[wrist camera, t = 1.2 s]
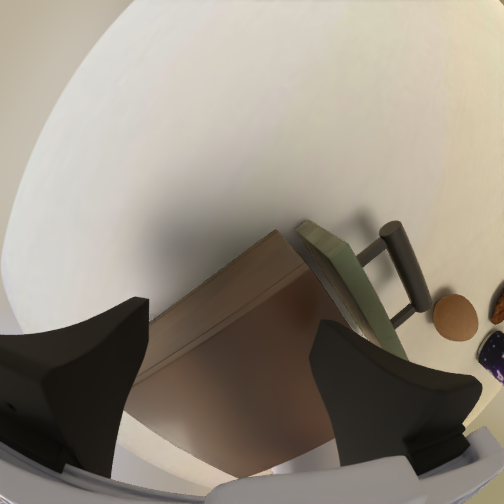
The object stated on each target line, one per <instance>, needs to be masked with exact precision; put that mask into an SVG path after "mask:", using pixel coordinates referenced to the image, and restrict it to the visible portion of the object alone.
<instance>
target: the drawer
mask: <svg viewBox="0 0 504 504" xmlns="http://www.w3.org/2000/svg"><path fill="white" fill-rule="evenodd" d="M295 231H296V232H297V234H298V235H299V237H300V238H301V239H302V241H303V242H304V244H305V245H306V247H307V248H308V250H309V251H310V252H311V254H312V255H313V257H314V258H315V260H316V261H317V263H318V264H319V266H320V267H321V269H322V270H323V272H324V273H325V275H326V276H327V278H328V279H329V281H330V282H331V284H332V285H333V287H334V288H335V290H336V292H337V293H338V295H339V296H340V298H341V299H342V301H343V302H344V304H345V306H346V307H347V309H348V310H349V312H350V313H351V315H352V317H353V318H354V320H355V321H356V323H357V325H358V326H359V328H360V329H361V331H362V333H363V334H364V335H365V336H366V338H367V339H368V340H369V341H370V342H371V343H373V344H375V345H376V346H378V347H380V348H382V349H384V350H385V351H387V352H389V353H391V354H393V355H395V356H398V357H400V358H402V359H404V360H407V361H409V360H408V358H407V355H406V353H405V351H404V349H403V347H402V344H401V342H400V340H399V338H398V336H397V334H396V332H395V329H396V328H397V327H399V326H400V325H401V324H402V323H403V322H405V321H406V320H407V319H408V318H409V317H410V316H412V315H413V314H414V313H415V312H418V313H421V312H425V311H426V310H428V309H429V308H430V306H431V304H432V299H431V296H430V293H429V290H428V288H427V285H426V282H425V279H424V276H423V274H422V271H421V268H420V266H419V263H418V261H417V258H416V256H415V253H414V251H413V249H412V246H411V244H410V241H409V239H408V237H407V235H406V232H405V230H404V228H403V226H402V224H401V222H400V221H391V222H389V223H387V224H385V225H384V226H383V227H382V228H381V229H380V231H379V235H380V237H381V238H378V239H377V240H376V241H375V242H373V243H372V244H371V245H370V246H368V247H367V248H366V249H365V250H363V251H362V252H361V253H360V254H358V255H357V256H355V254H354V252H353V251H352V249H351V247H350V246H349V244H348V243H346V242H345V241H343V240H342V239H340V238H338V237H337V236H335V235H333V234H332V233H330V232H328V231H327V230H325V229H323V228H322V227H320V226H318V225H316V224H315V223H313V222H311V221H310V220H307V221H305V222H304V223H303V224H301V225H300V226H299V227H297V228H296V229H295ZM385 249H387V251H388V253H389V255H390V257H391V259H392V262H393V264H394V266H395V268H396V270H397V272H398V275H399V277H400V279H401V281H402V284H403V286H404V288H405V290H406V293H407V295H408V298H409V300H410V302H411V304H410V303H409V304H408V305H407V306H406V307H405V308H404V309H402V310H401V311H400V312H399V313H398V314H397V315H395V316H394V317H393V318H392V319H391V320H390V319H389V317H388V315H387V313H386V311H385V309H384V307H383V305H382V304H381V302H380V300H379V298H378V296H377V294H376V292H375V290H374V288H373V286H372V285H371V283H370V281H369V279H368V277H367V275H366V274H365V272H364V270H363V267H364V266H365V265H366V264H368V263H369V262H370V261H371V260H372V259H374V258H375V257H376V256H377V255H379V254H380V253H381V252H382V251H383V250H385Z"/></svg>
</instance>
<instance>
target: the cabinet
mask: <svg viewBox="0 0 504 504" xmlns="http://www.w3.org/2000/svg"><path fill="white" fill-rule="evenodd" d="M321 319H323V320H334V321H337V322H339V323H340V324H342V325H344V326H346V327H347V328H349V329H350V330H352V329H351V328H350V326H349V325H348V323H347V322H346V320H345V319H344V317H343V316H342V314H341V313H340V311H339V310H338V308H337V307H336V305H335V304H334V302H333V301H332V299H331V298H330V296H329V295H328V293H327V292H326V290H325V289H324V287H323V286H322V284H321V283H320V281H319V280H318V279H317V277H316V276H315V274H314V273H313V271H312V270H311V268H310V267H309V266H308V265H307V264H306V263H305V262H304V260H303V259H302V258H301V257H300V256H299V255H298V253H297V252H296V251H295V250H294V249H293V248H292V247H291V245H290V244H289V243H288V242H287V241H286V240H285V239H284V238H283V236H282V235H281V234H280V233H279V232H278V231H277V230H274V231H272V232H271V233H270V234H268V235H267V236H266V237H264V238H263V239H262V240H260V241H259V242H258V243H256V244H255V245H254V246H252V247H251V248H250V249H248V250H247V251H245V252H244V253H243V254H241V255H240V256H239V257H237V258H236V259H235V260H233V261H232V262H231V263H229V264H228V265H227V266H225V267H224V268H223V269H221V270H220V271H219V272H217V273H216V274H215V275H213V276H212V277H210V278H209V279H208V280H206V281H205V282H204V283H202V284H201V285H200V286H198V287H197V288H196V289H194V290H193V291H192V292H190V293H189V294H188V295H186V296H185V297H184V298H182V299H181V300H180V301H178V302H177V303H176V304H174V305H173V306H172V307H170V308H169V309H168V310H166V311H165V312H164V313H162V314H161V315H160V316H158V317H157V318H156V319H154V320H153V321H152V322H150V323H149V342H148V346H147V350H146V353H145V357H144V360H143V362H142V365H141V367H140V369H139V372H138V374H137V376H136V379H135V381H134V383H133V386H132V388H131V390H130V393H129V395H128V398H127V400H126V403H125V406H124V411H125V412H127V413H128V414H129V415H131V416H132V417H133V418H135V419H136V420H137V421H139V422H140V423H142V424H143V425H144V426H146V427H147V428H149V429H150V430H152V431H153V432H155V433H156V434H158V435H159V436H161V437H162V438H164V439H165V440H167V441H169V442H170V443H172V444H173V445H175V446H177V447H178V448H180V449H182V450H183V451H185V452H187V453H189V454H190V455H192V456H194V457H196V458H198V459H200V460H201V461H203V462H205V463H207V464H209V465H211V466H213V467H215V468H217V469H219V470H221V471H223V472H225V473H228V474H230V475H232V476H234V477H236V478H239V479H240V478H244V477H248V476H251V475H254V474H257V473H260V472H262V471H265V470H268V469H270V468H273V467H275V466H278V465H280V464H282V463H285V462H287V461H290V460H292V459H294V458H296V457H298V456H301V455H303V454H305V453H307V452H309V451H311V450H313V449H315V448H317V447H319V446H321V445H323V444H325V443H327V442H329V441H331V440H332V439H334V438H335V436H334V432H333V428H332V424H331V421H330V418H329V415H328V412H327V410H326V407H325V405H324V403H323V400H322V398H321V395H320V393H319V390H318V388H317V385H316V383H315V380H314V378H313V375H312V371H311V367H310V362H309V354H310V351H311V348H312V345H313V342H314V339H315V336H316V333H317V330H318V327H319V323H320V320H321Z"/></svg>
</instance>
